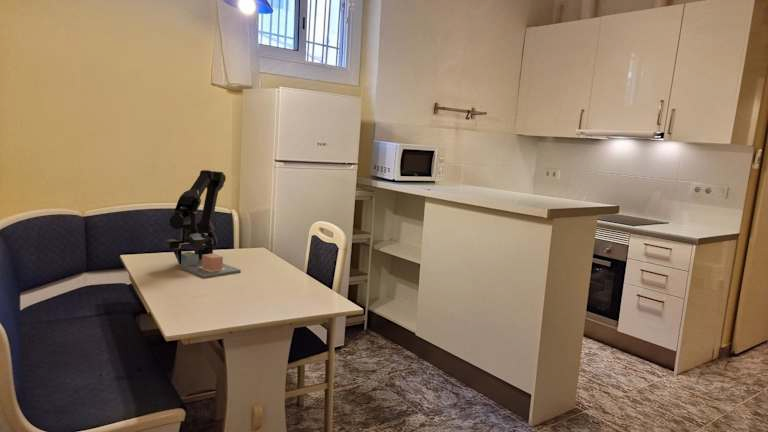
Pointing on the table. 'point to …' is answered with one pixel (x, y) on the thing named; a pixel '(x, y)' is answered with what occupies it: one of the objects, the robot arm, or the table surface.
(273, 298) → the table surface
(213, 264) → the brick
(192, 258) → the brick
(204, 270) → the baseplate
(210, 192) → the robot arm
